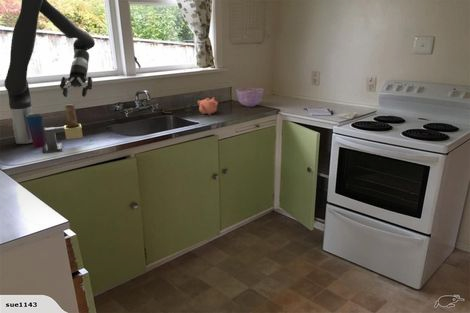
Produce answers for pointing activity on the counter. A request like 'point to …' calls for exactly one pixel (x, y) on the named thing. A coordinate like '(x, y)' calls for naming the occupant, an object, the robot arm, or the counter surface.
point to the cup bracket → (51, 137)
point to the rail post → (71, 115)
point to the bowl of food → (249, 96)
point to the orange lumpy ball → (207, 106)
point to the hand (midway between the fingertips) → (74, 95)
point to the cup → (36, 129)
